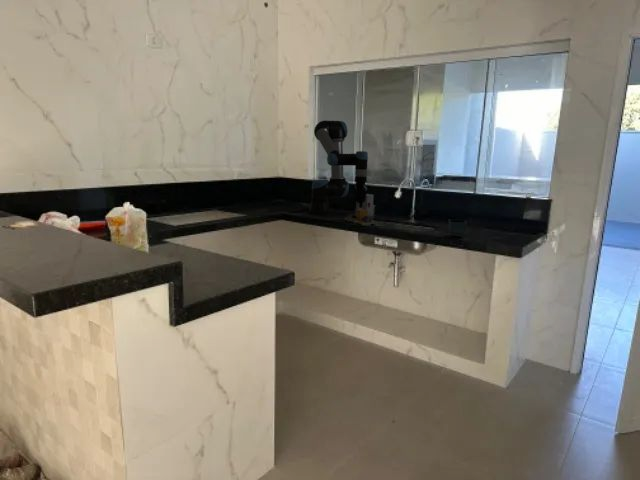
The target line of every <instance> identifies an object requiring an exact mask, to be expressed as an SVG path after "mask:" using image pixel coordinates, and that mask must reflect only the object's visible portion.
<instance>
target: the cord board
mask: <svg viewBox="0 0 640 480" xmlns="http://www.w3.org/2000/svg"><path fill="white" fill-rule="evenodd" d="M346 220H347V221H346ZM344 221H346V222H349V221H351V222H350V223H352V222H354V223H353V224H356V223H358V224H357V225H359V224H361V225H360V226H362V225H363V226H362V227H364V225H366V226H372V225H371V224H375V225H379V221H377V220H373V216H369V215H368V216H364V218H362V220H358V219H357V217H356V213H349V214H346V216H345V218H344Z"/></svg>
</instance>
